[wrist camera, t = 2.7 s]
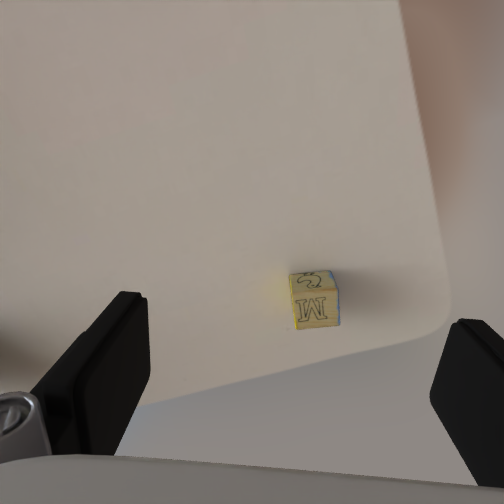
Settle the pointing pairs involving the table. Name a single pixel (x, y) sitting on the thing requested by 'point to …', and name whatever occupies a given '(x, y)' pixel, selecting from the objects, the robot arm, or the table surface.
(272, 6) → the table surface
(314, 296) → the alphabet block
